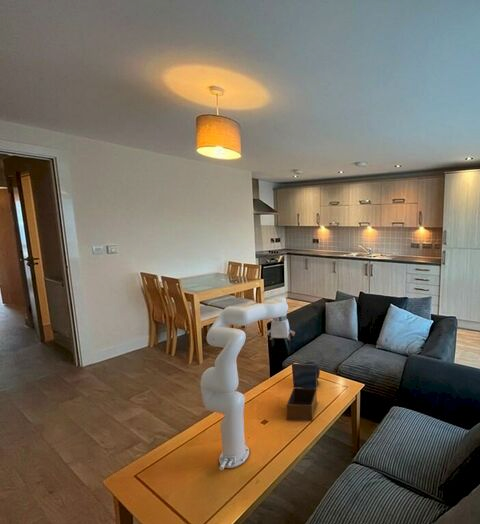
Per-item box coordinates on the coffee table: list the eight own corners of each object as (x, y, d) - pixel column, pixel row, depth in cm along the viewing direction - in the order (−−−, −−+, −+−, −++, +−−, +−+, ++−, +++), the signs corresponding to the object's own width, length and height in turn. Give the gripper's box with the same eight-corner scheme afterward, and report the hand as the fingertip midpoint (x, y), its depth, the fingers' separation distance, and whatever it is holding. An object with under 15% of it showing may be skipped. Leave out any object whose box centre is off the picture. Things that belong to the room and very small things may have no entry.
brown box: (311, 420, 153) (311, 405, 151) (286, 419, 153) (286, 404, 152) (316, 402, 168) (316, 388, 167) (294, 401, 169) (293, 387, 167)
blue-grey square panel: (315, 365, 161) (315, 364, 162) (291, 364, 162) (291, 363, 162) (316, 388, 166) (316, 387, 167) (293, 387, 167) (293, 386, 168)
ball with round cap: (310, 392, 177) (310, 370, 175) (295, 385, 184) (294, 364, 182) (323, 382, 188) (323, 361, 186) (308, 376, 195) (308, 356, 193)
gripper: (263, 319, 161) (264, 348, 164) (293, 320, 161) (294, 348, 163) (267, 315, 169) (268, 342, 171) (296, 315, 168) (296, 343, 171)
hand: (280, 345), depth 167 cm, fingers open, 9 cm apart
